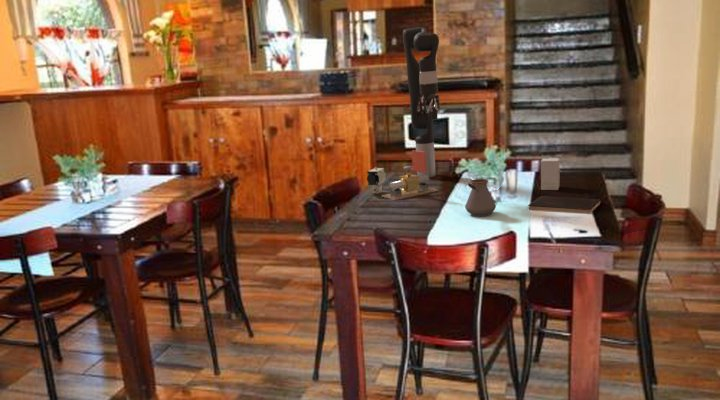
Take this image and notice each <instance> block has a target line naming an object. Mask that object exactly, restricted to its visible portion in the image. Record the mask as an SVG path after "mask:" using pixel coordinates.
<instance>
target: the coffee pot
mask: <svg viewBox="0 0 720 400" xmlns="http://www.w3.org/2000/svg"><path fill="white" fill-rule="evenodd" d="M469 182H470V183H466V184H465V185H464V188H465V189H467V190H470V189H471V190H470V193H469V196H468V197H467V200H466V204H465V207H464V208H465V210H466V211H467V213H468V214H470V215H471V216H473V217H487V216H490V215H492V213H493V212H494V211H495V210H496V207H497V205H496V202H495V201H494V198H493V196H492V194H491V192H490V191H489V188H488V185H487V184H488V182H489V180H488V179H483V178H477V179H473V180H472V179H471V180H470V181H469ZM467 186H468V187H469V188H467Z"/></svg>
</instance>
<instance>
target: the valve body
mask: <svg viewBox="0 0 720 400" xmlns="http://www.w3.org/2000/svg"><path fill="white" fill-rule="evenodd" d="M405 172H406V174H404V175H399V176H398V181H393V182H389V183H388V189H389V193H387V194H386V193H385V194H382V195H381V198H383V197H384V199H387V198H388V200H391V201H397V200H398V201H399V200H401V199H408V198H411V197H416V196H420V195H425V194H429V193H435V192H439V191H438V190H439V189H438V188H435V187H430V186H429V183H430V177H428V176H421V177H419V176H418V175H416V174H411V172H412V171H405Z"/></svg>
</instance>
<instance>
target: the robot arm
mask: <svg viewBox="0 0 720 400" xmlns="http://www.w3.org/2000/svg"><path fill="white" fill-rule="evenodd" d="M402 40H403V41H402V43H403V48H404V54H405V60H406V73H407V85H408V86H407V87H408V93H409V99H410V101H409V102H410V103H409V104H410V120H411V121H410V123H411V127H412V129H413V130H426V132H424V133H423V134H421V135H419V136H416V137H415V138H414V139H415V140H414V141H415V151H423V152H425V153H426V170H427V173H422V172H416V173H417V175H418V176H419V177H421V176H428V177H429V178H433V177H436V159H435V158H436V156H435V141H434V120H435V121H436V120H438V111H439V109H440V108H441V107H440V96H439V94H438V93H439V88H438V87H439V86H438V85H439V84H438V83H439V82H438V74H437V53H438V48H439V45H440V38H439V36H438V34H437V33H434V32H432V33H428V32H427V29H426V28H425V27H422V26H417V27H410V28H405V29H403V31H402ZM412 49H413V50H415V51H417V52H421V53H422V52H429V54H428V55H427V56H424V57H421V58H419V60H417V59H416V57H415V56H414V54H413V51H412ZM418 106H419V107H418ZM418 108H419V110H418Z"/></svg>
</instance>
